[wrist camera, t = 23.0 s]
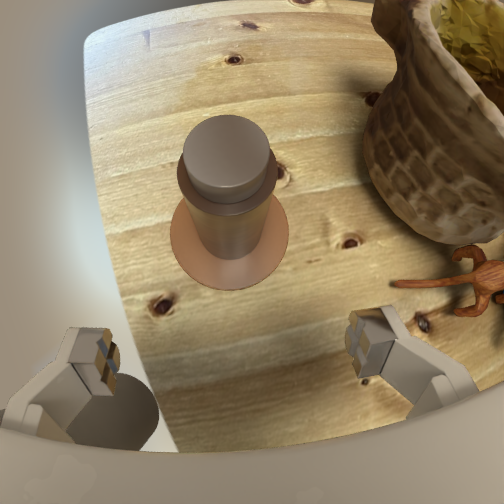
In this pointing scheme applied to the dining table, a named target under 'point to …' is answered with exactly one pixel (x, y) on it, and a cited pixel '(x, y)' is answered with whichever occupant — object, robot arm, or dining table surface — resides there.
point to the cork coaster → (229, 271)
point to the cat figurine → (470, 280)
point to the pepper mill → (227, 183)
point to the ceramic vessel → (441, 118)
